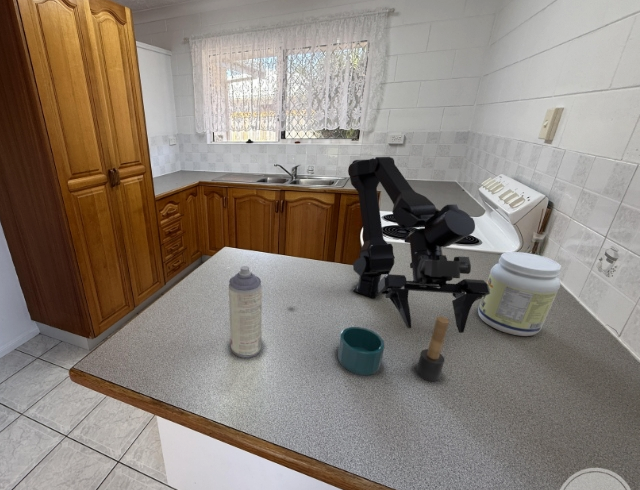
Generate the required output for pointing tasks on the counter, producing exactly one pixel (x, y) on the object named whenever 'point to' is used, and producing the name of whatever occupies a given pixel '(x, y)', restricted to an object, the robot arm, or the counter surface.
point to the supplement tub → (520, 293)
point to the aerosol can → (245, 313)
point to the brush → (433, 353)
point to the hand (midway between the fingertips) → (434, 330)
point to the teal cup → (360, 350)
